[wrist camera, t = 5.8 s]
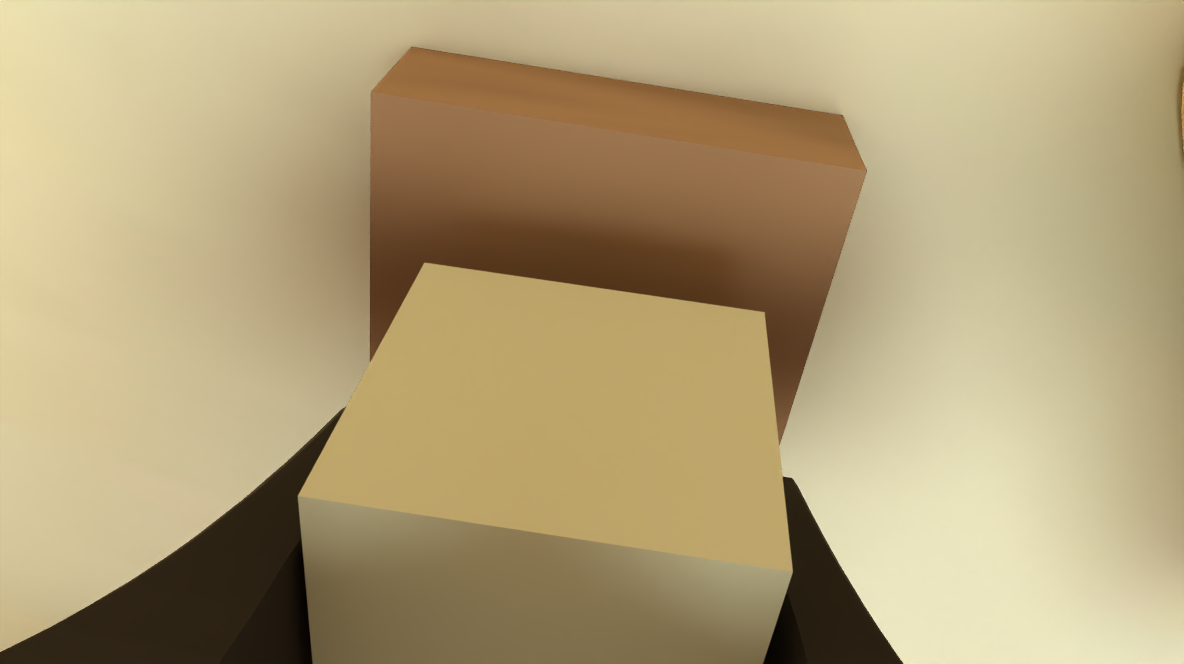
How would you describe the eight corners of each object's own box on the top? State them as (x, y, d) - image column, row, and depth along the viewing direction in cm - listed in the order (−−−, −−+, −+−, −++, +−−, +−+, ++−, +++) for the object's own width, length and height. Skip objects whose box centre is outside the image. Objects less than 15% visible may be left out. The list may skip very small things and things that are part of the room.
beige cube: (704, 555, 16) (704, 841, 12) (421, 511, 16) (323, 779, 12) (764, 312, 13) (793, 571, 9) (424, 262, 13) (297, 496, 9)
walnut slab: (744, 438, 22) (752, 529, 19) (406, 384, 21) (369, 468, 19) (839, 108, 17) (866, 170, 15) (416, 40, 17) (370, 92, 15)
